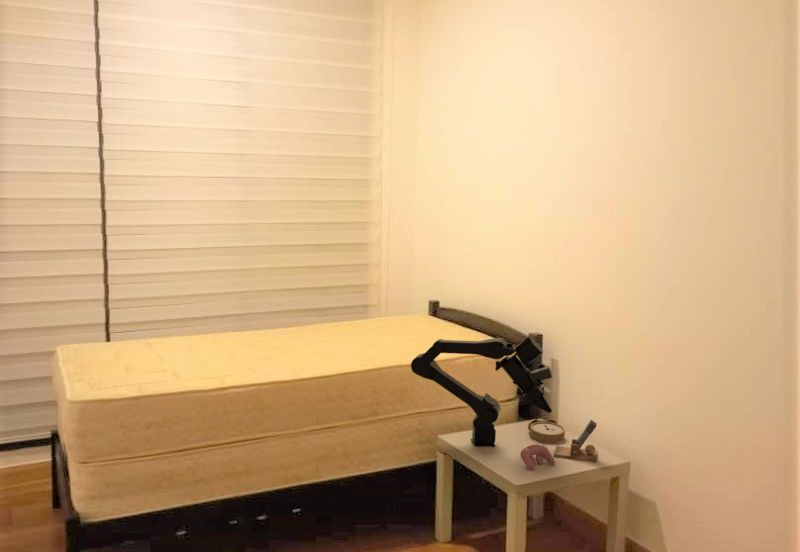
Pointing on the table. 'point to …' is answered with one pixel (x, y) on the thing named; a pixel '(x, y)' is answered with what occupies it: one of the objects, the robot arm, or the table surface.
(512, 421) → the table surface
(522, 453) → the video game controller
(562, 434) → the alarm clock
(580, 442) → the lever
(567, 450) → the base
